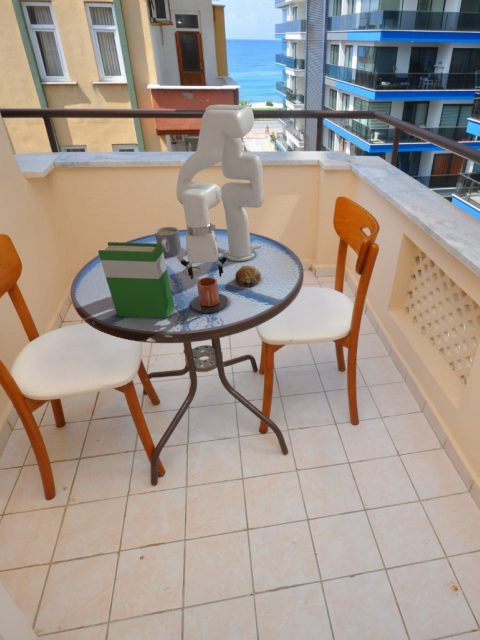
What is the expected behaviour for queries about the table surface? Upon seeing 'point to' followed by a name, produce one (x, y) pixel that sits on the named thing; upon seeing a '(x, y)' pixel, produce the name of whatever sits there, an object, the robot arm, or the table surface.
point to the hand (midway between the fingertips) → (206, 276)
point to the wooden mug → (208, 291)
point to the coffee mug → (169, 240)
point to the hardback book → (137, 279)
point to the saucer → (210, 309)
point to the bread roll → (247, 276)
